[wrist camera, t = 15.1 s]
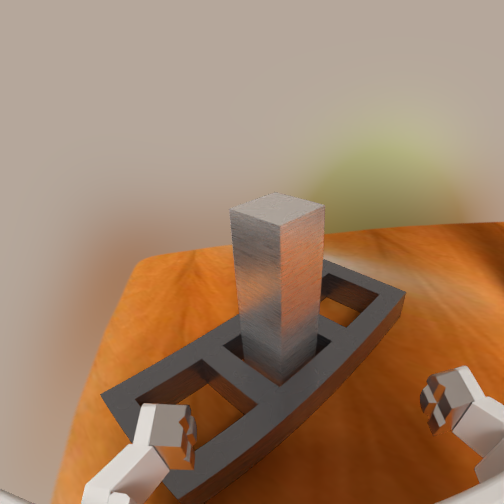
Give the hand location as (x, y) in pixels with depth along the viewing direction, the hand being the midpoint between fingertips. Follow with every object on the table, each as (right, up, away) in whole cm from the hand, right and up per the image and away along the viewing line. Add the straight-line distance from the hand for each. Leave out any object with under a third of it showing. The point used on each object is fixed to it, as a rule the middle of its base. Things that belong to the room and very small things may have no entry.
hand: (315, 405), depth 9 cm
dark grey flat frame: (0, -5, +16) cm, 17 cm away
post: (0, -5, +16) cm, 17 cm away
